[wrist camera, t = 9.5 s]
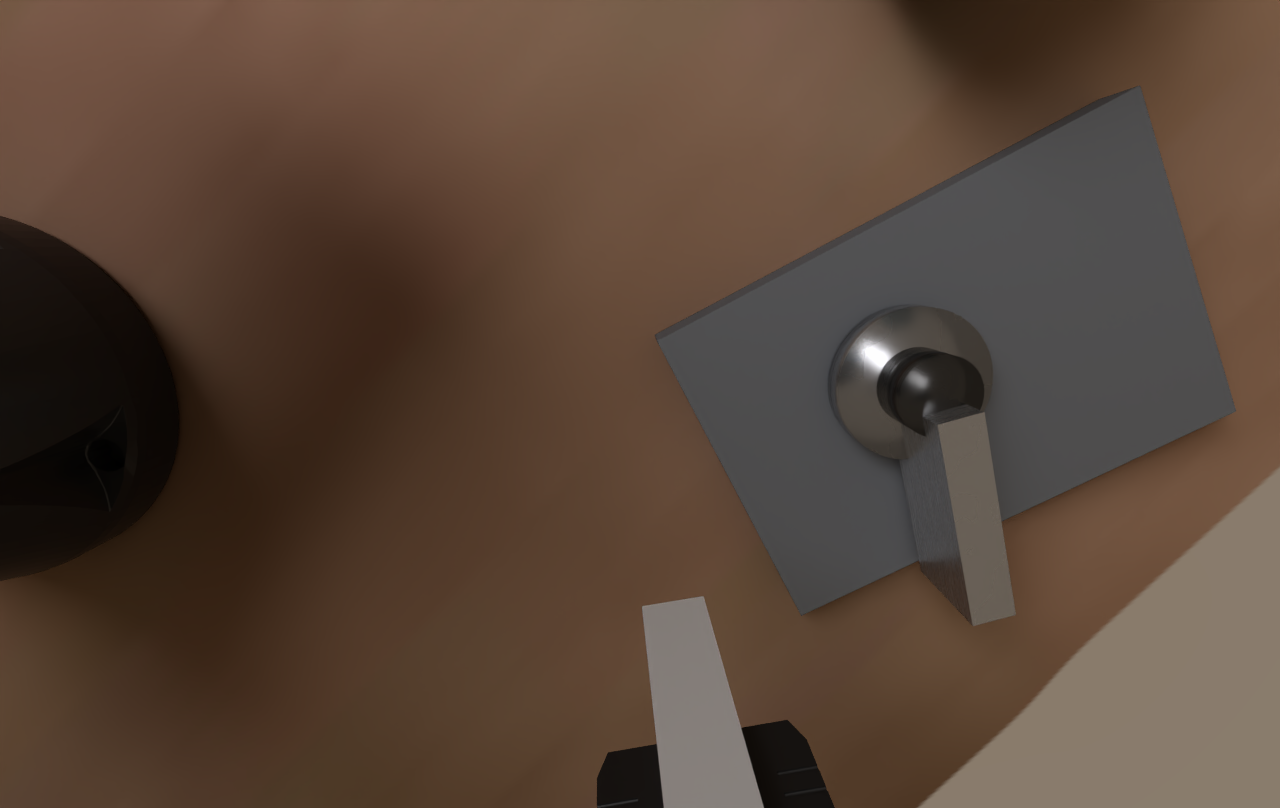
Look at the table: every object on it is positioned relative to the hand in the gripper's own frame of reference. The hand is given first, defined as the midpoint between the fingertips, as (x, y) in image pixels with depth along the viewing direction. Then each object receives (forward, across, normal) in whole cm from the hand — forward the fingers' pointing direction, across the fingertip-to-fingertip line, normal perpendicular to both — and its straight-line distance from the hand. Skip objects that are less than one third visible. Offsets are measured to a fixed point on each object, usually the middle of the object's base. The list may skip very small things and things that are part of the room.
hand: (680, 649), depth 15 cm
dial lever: (+10, +11, 0) cm, 15 cm away
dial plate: (+13, +13, +2) cm, 18 cm away
